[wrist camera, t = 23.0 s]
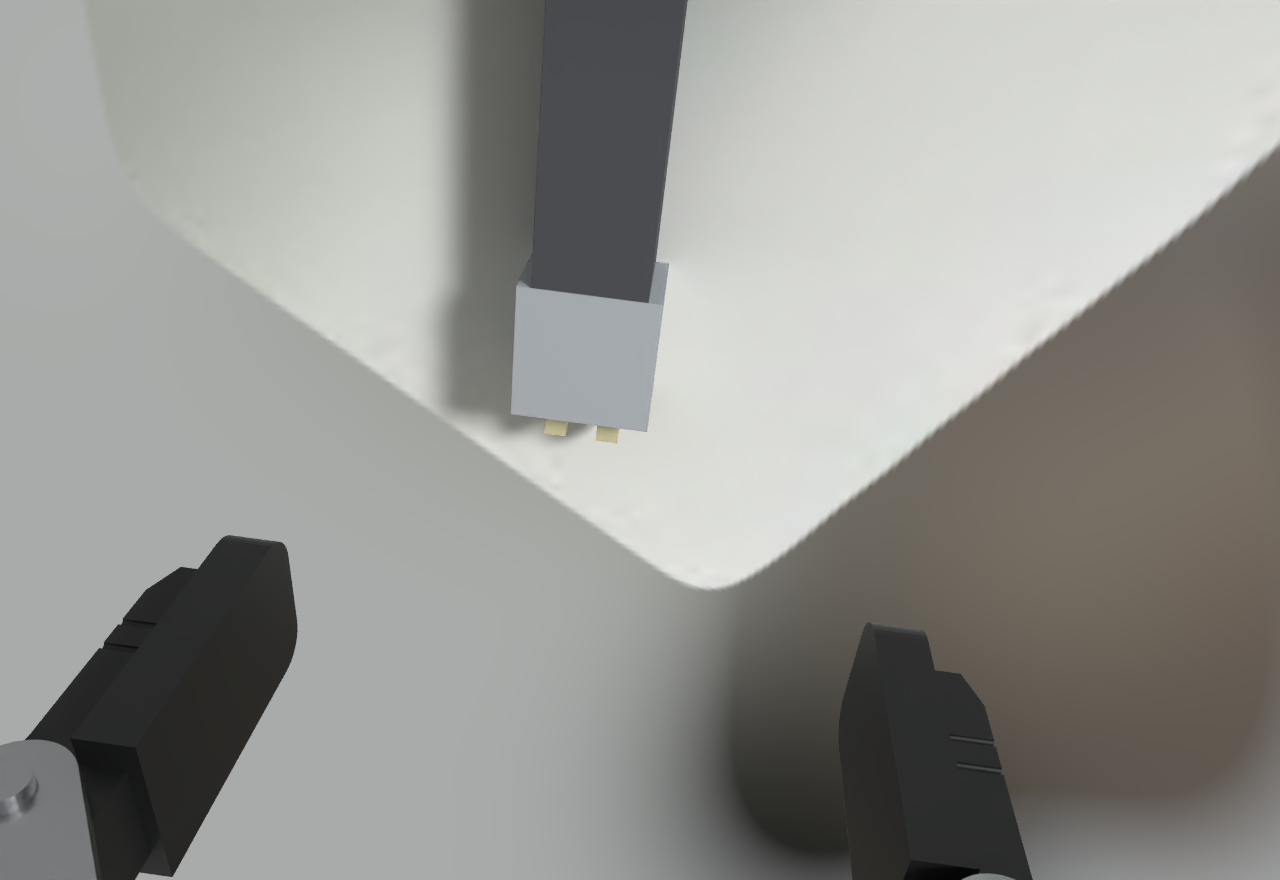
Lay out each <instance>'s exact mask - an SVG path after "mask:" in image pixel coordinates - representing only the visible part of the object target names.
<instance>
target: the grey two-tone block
mask: <svg viewBox="0 0 1280 880" xmlns="http://www.w3.org/2000/svg"><path fill="white" fill-rule="evenodd" d="M687 1H688V0H546V6H545V25H544V45H543V64H542V83H541V103H540V122H539V141H538V161H537V180H536V200H535V219H534V238H533V253H532V255H531V257H530V259H529V261H528V263H527V265H526V267H525V269H524V271H523V273H522V276H521V278H520V280H519V282H518V284H517V286H516V304H515V327H514V350H513V373H512V396H511V414H513V415H521V416H528V417H536V418H544V419H545V434H550V435H558V436H565V435H566V431H567V428H568V424H569V422H574V423H582V424H590V425H597V436H596V441H603V442H611V443H617V439H618V433H619V428H620V429H628V430H635V431H643V432H647V427H648V420H649V413H650V405H651V398H652V390H653V383H654V375H655V367H656V360H657V352H658V344H659V336H660V329H661V321H662V313H663V306H664V298H665V290H666V283H667V275H668V267H669V264H668V263H660V262H656V255H657V247H658V238H659V230H660V222H661V214H662V206H663V197H664V189H665V181H666V173H667V165H668V156H669V148H670V140H671V132H672V124H673V115H674V107H675V99H676V91H677V83H678V74H679V66H680V58H681V50H682V42H683V33H684V25H685V17H686V9H687Z"/></svg>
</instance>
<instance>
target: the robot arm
mask: <svg viewBox="0 0 1280 880" xmlns="http://www.w3.org/2000/svg"><path fill="white" fill-rule="evenodd" d="M296 639H297V617H296V610H295V602H294V595H293V587H292V580H291V572H290V565H289V558H288V552H287V549H286V547H285V545H284V544H283V543H281V542H276V541H269V540H261V539H254V538H245V537H239V536H231V535H228V536H225V537H223V538H222V539H221V540H220V541H219V542H218V543H217V544H216V546H215V547H214V548H213V550H212V551H211V552H210V554H209V555H208V556H207V558H206V559H205V560H204V562H203V563H202V564H201V566H200V567H199V568H198V569H192V568H185V567H180V568H179V569H177V570H176V571H174V572H172V573H171V574H169V575H168V576H166V577H165V578H163V579H162V580H160V581H159V582H157V583H156V584H154V585H153V586H151V587H150V588H148V589H147V590H146V591H145V592H144V593H143V594H142V595H141V597H140V598H139V599H138V601H137V602H136V603H135V604H134V605H133V607H132V608H131V609H130V610H129V612H128V613H127V614H126V615H125V617H124V618H123V622H122V624H121V625H117V627H116V628H115V629H114V630H113V632H112V633H111V634H110V635H109V637H108V638H107V639H106V640H105V642H104V646H103V648H102V649H101V648H99V649H98V650H97V652H96V653H95V654H94V655H93V657H92V658H91V659H90V660H89V661H88V663H87V664H86V665H85V666H84V668H83V669H82V670H81V672H80V673H79V674H78V675H77V676H76V678H75V679H74V680H73V681H72V683H71V684H70V685H69V686H68V688H67V689H66V690H65V691H64V693H63V694H62V695H61V696H60V698H59V699H58V700H57V701H56V703H55V704H54V705H53V706H52V708H51V709H50V710H49V711H48V713H47V714H46V715H45V717H44V718H43V719H42V720H41V721H40V722H39V724H38V725H37V726H36V728H35V729H34V730H33V731H32V733H31V734H30V735H29V736H28V737H27V738H26V739H25V740H23V741H17V742H12V743H8V744H4V745H1V746H0V880H135V879H136V877H137V875H138V874H139V872H141V873H148V874H155V875H162V876H169V877H173V875H174V873H175V871H176V869H177V868H178V866H179V864H180V862H181V861H182V859H183V857H184V855H185V853H186V852H187V850H188V848H189V846H190V844H191V842H192V841H193V839H194V837H195V835H196V834H197V831H198V830H199V828H200V826H201V824H202V823H203V821H204V819H205V817H206V815H207V814H208V812H209V810H210V808H211V806H212V804H213V803H214V801H215V799H216V797H217V796H218V794H219V792H220V790H221V788H222V787H223V785H224V783H225V781H226V779H227V778H228V776H229V774H230V772H231V770H232V769H233V767H234V765H235V763H236V761H237V760H238V758H239V756H240V754H241V752H242V750H243V749H244V747H245V745H246V743H247V741H248V740H249V738H250V736H251V734H252V732H253V730H254V729H255V727H256V725H257V723H258V722H259V720H260V718H261V716H262V714H263V713H264V711H265V709H266V707H267V705H268V704H269V702H270V700H271V698H272V696H273V694H274V693H275V691H276V689H277V687H278V685H279V684H280V682H281V680H282V678H283V676H284V675H285V673H286V671H287V669H288V667H289V665H290V663H291V660H292V657H293V654H294V649H295V645H296ZM993 742H994V739H993V735H992V731H991V728H990V724H989V720H988V717H987V713H986V710H985V706H984V704H983V703H982V702H981V700H980V699H979V698H978V697H977V695H976V694H975V693H974V691H973V690H972V688H971V687H970V686H969V684H968V683H967V682H966V681H965V679H964V678H963V676H962V675H961V674H958V673H950V672H943V671H935V669H934V664H933V660H932V656H931V651H930V647H929V642H928V639H927V635H926V633H925V632H924V630H922V629H914V628H907V627H900V626H892V625H884V624H877V623H870V622H869V623H867V624H866V626H865V628H864V630H863V632H862V635H861V639H860V643H859V646H858V649H857V653H856V656H855V659H854V663H853V667H852V669H851V673H850V676H849V680H848V683H847V687H846V690H845V693H844V697H843V700H842V705H841V711H840V719H839V753H840V762H841V772H842V782H843V792H844V801H845V810H846V821H847V831H848V840H849V850H850V860H851V870H852V878H853V880H1033V879H1032V876H1031V873H1030V869H1029V865H1028V862H1027V858H1026V855H1025V851H1024V847H1023V843H1022V840H1021V836H1020V833H1019V829H1018V825H1017V822H1016V818H1015V815H1014V811H1013V807H1012V804H1011V800H1010V797H1009V793H1008V789H1007V786H1006V782H1005V778H1004V775H1001V764H1000V760H999V757H998V753H997V749H996V747H994V746H993Z"/></svg>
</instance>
